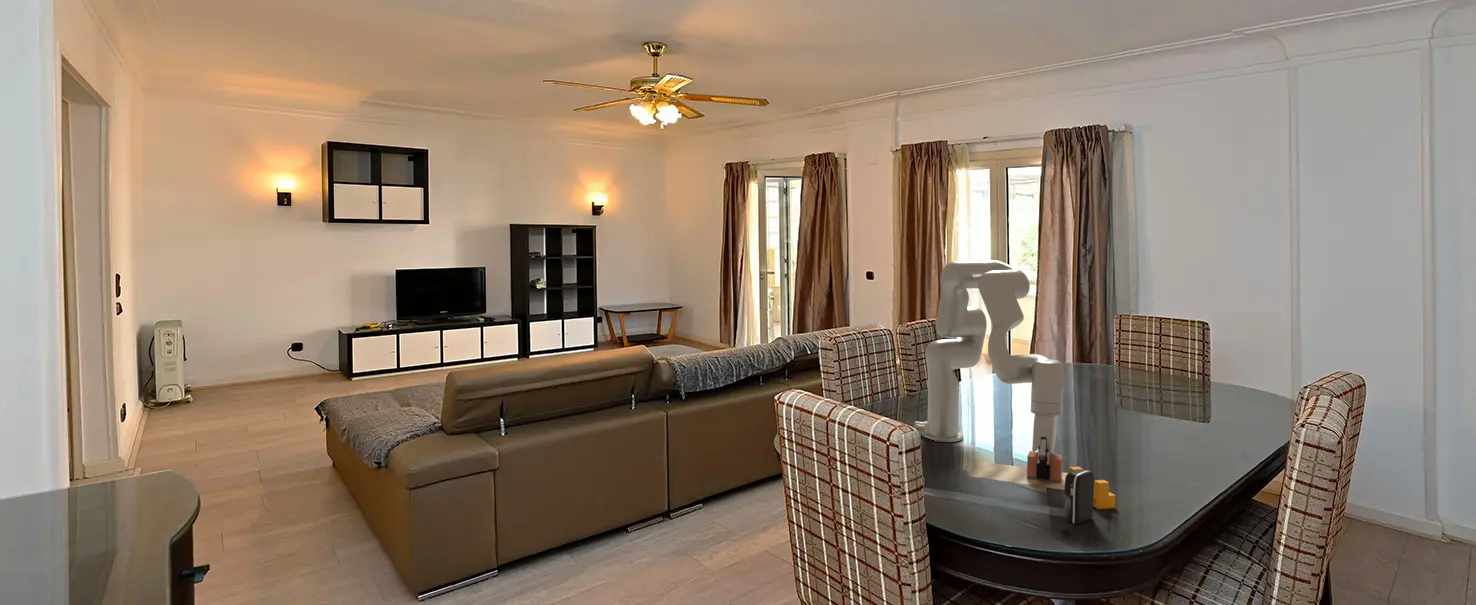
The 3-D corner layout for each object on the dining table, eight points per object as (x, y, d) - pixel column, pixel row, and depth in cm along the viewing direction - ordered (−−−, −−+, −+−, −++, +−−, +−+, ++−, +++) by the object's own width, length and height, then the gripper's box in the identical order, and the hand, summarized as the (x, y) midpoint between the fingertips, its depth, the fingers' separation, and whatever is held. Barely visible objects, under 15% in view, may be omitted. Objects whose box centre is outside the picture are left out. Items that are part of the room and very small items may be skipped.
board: (968, 481, 192) (968, 476, 192) (977, 466, 205) (977, 461, 205) (1067, 496, 181) (1067, 490, 181) (1070, 479, 194) (1071, 473, 194)
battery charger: (1077, 513, 170) (1079, 465, 169) (1093, 518, 167) (1095, 470, 166) (1060, 520, 166) (1062, 471, 165) (1076, 525, 163) (1078, 476, 162)
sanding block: (1026, 478, 190) (1027, 456, 189) (1028, 473, 194) (1029, 451, 194) (1060, 483, 186) (1061, 460, 186) (1061, 477, 191) (1062, 455, 190)
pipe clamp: (1114, 508, 174) (1115, 482, 173) (1098, 509, 173) (1099, 483, 172) (1084, 490, 185) (1084, 466, 185) (1068, 491, 185) (1069, 467, 184)
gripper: (1034, 398, 198) (1032, 463, 199) (1027, 413, 182) (1025, 482, 184) (1064, 401, 194) (1062, 467, 196) (1059, 416, 179) (1057, 487, 181)
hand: (1044, 474), depth 190 cm, fingers open, 6 cm apart
